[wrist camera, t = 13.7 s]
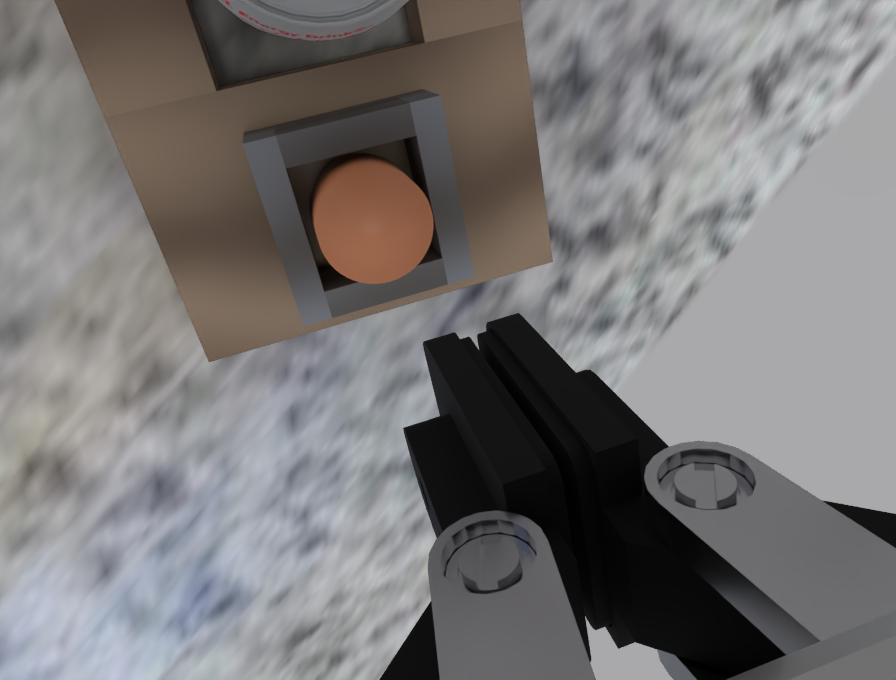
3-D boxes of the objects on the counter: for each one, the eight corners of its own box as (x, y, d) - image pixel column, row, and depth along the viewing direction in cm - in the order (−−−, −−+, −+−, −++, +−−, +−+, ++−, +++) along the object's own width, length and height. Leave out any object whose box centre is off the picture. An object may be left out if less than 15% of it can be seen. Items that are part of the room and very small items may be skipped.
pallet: (-25, -227, 18) (-104, -300, 14) (457, -301, 20) (507, -383, 16) (212, 340, 26) (204, 394, 22) (534, 247, 28) (579, 282, 24)
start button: (295, 168, 21) (301, 186, 19) (401, 141, 22) (420, 155, 19) (326, 269, 23) (335, 297, 21) (424, 242, 23) (443, 266, 21)
